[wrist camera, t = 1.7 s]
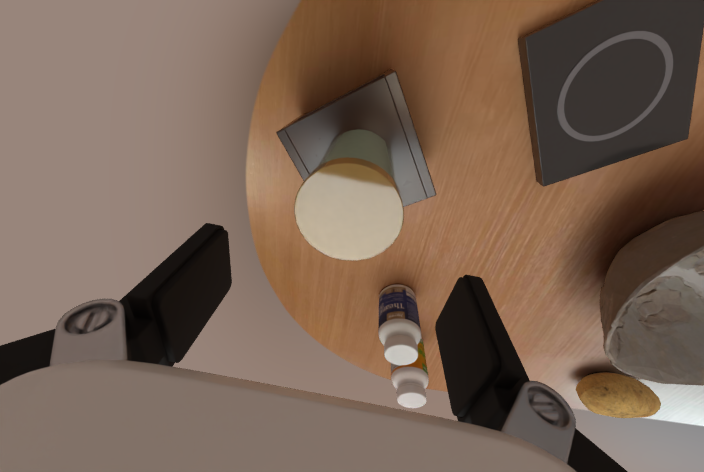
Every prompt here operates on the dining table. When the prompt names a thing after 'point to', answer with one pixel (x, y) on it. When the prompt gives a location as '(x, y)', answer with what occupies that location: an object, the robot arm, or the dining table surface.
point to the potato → (617, 396)
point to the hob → (610, 83)
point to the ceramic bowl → (658, 304)
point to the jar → (351, 199)
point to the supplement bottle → (411, 380)
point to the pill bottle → (399, 324)
